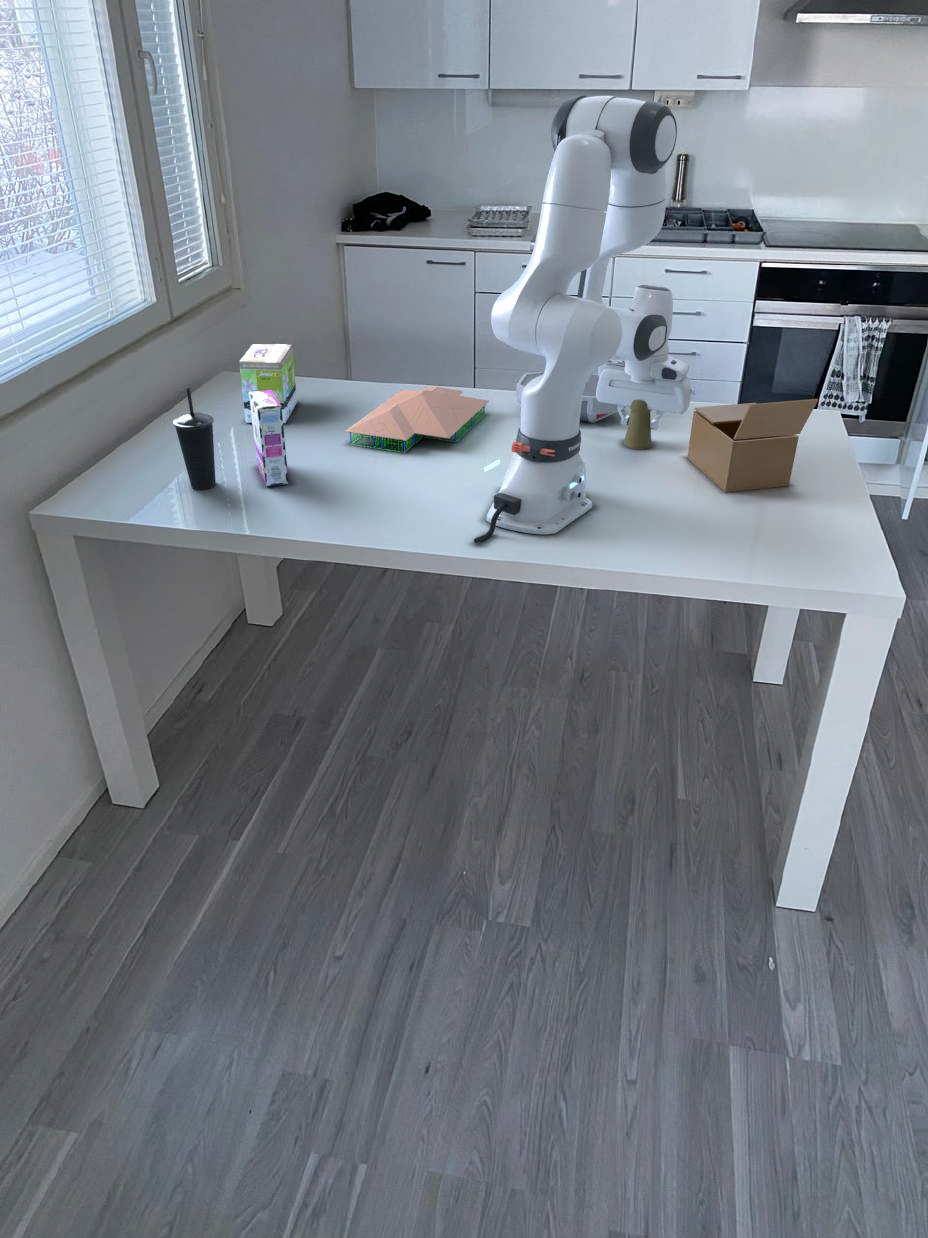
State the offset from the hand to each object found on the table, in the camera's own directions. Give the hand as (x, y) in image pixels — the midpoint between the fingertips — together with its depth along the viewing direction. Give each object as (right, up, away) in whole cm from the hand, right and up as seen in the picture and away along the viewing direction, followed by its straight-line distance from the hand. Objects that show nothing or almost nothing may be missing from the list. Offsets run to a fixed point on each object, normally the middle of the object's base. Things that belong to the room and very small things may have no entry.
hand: (639, 426), depth 206 cm
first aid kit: (-13, +7, +19) cm, 24 cm away
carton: (+18, -12, -11) cm, 24 cm away
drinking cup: (-91, -15, -17) cm, 94 cm away
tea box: (-85, +7, +19) cm, 87 cm away
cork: (0, -4, +2) cm, 4 cm away
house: (-48, +2, +11) cm, 50 cm away
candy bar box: (-78, -13, -13) cm, 80 cm away
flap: (+21, -4, -28) cm, 35 cm away
